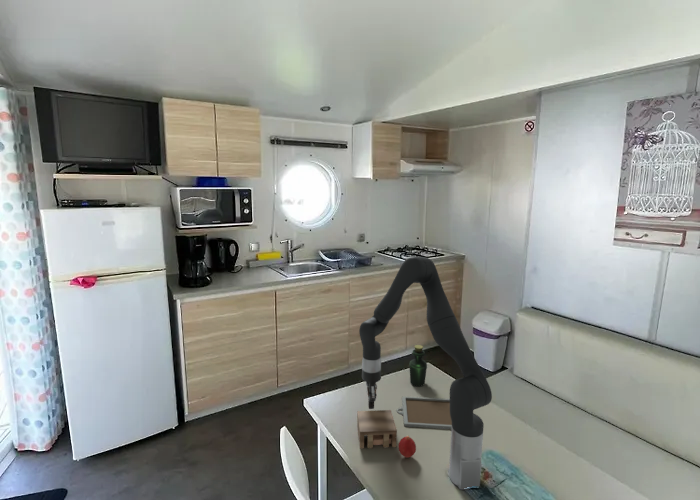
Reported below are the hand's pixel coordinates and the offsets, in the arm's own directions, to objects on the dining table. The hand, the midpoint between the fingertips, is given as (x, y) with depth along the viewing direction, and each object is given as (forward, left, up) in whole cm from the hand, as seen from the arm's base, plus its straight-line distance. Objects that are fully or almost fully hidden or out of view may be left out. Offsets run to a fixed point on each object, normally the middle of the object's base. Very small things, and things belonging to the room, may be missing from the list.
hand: (371, 407), depth 148 cm
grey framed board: (-2, -25, -3) cm, 25 cm away
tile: (-13, -1, -3) cm, 13 cm away
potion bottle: (+21, -24, -2) cm, 32 cm away
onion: (-26, -9, -2) cm, 27 cm away
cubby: (-15, 0, -2) cm, 15 cm away
